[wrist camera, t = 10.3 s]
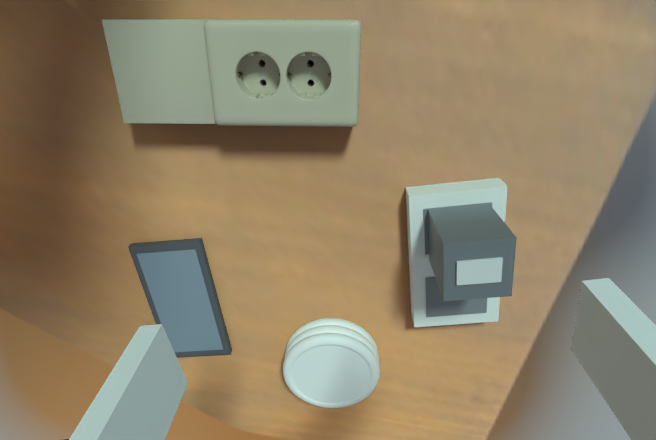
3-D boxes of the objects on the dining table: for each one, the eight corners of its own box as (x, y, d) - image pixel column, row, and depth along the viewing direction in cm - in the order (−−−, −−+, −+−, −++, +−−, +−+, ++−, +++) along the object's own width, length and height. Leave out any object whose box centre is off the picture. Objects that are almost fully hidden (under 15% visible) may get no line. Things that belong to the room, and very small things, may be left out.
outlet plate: (405, 187, 36) (409, 196, 34) (499, 177, 35) (508, 187, 33) (411, 314, 42) (414, 328, 40) (491, 308, 41) (498, 322, 39)
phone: (134, 240, 40) (127, 247, 39) (203, 235, 39) (199, 241, 38) (172, 349, 46) (168, 358, 45) (233, 346, 45) (230, 354, 44)
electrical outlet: (94, 19, 28) (361, 19, 27) (123, 19, 31) (359, 19, 31) (117, 125, 31) (358, 128, 30) (142, 114, 34) (356, 116, 34)
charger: (428, 209, 34) (444, 245, 29) (488, 203, 34) (517, 239, 28) (429, 260, 36) (444, 302, 31) (486, 255, 36) (512, 297, 30)
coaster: (393, 334, 43) (397, 359, 40) (354, 394, 48) (354, 421, 44) (306, 302, 42) (303, 325, 39) (273, 367, 46) (268, 393, 43)
